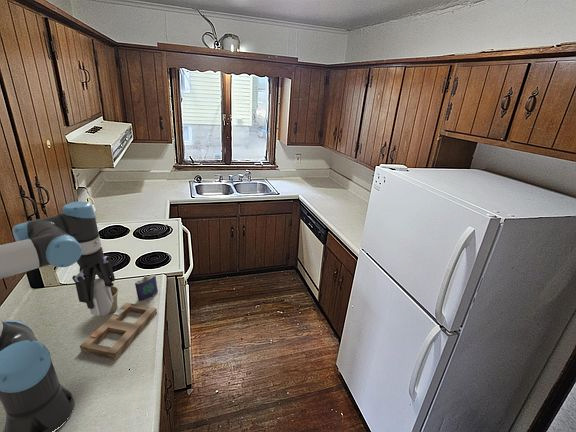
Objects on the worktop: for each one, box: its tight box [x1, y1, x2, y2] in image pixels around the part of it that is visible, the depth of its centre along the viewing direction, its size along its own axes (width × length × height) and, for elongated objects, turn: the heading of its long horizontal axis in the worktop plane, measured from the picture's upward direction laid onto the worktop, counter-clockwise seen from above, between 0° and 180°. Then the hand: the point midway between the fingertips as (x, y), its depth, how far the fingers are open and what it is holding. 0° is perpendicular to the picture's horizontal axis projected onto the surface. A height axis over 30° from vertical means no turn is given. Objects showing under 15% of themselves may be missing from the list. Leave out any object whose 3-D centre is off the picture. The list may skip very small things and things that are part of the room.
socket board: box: [79, 302, 158, 359], centre depth 116 cm, size 24×14×3 cm, turn 169°
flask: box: [134, 274, 159, 302], centre depth 134 cm, size 9×3×11 cm, turn 144°
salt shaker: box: [93, 278, 112, 317], centre depth 103 cm, size 6×6×13 cm
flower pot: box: [107, 285, 119, 315], centre depth 125 cm, size 9×9×9 cm
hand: (102, 307), depth 105 cm, fingers closed on salt shaker, 6 cm apart
